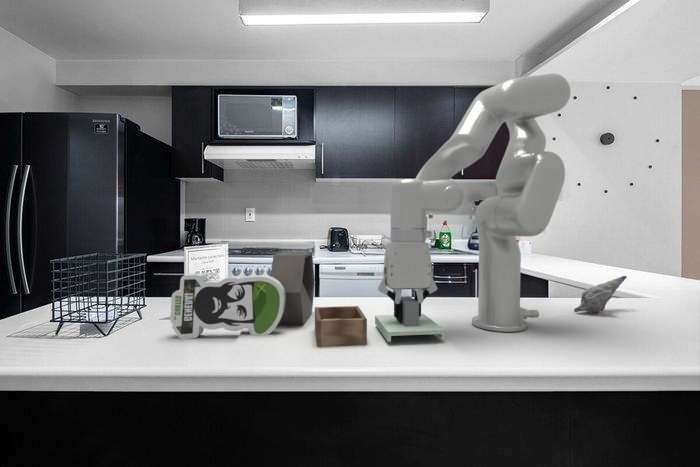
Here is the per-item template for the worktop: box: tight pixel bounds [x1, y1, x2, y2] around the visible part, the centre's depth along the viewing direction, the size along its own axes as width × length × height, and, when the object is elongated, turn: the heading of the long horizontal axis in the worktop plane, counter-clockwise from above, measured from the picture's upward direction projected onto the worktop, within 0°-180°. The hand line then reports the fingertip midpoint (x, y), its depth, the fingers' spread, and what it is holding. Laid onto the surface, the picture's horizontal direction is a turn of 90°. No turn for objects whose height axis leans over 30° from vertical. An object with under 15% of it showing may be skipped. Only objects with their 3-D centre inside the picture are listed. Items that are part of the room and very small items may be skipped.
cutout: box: [169, 272, 286, 340], centre depth 86 cm, size 15×3×25 cm
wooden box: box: [314, 305, 368, 348], centre depth 83 cm, size 10×12×6 cm
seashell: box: [573, 275, 627, 314], centre depth 107 cm, size 10×17×10 cm, turn 90°
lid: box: [374, 295, 446, 343], centre depth 85 cm, size 12×14×7 cm
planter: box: [269, 251, 316, 326], centre depth 99 cm, size 17×8×21 cm
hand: (407, 319), depth 85 cm, fingers closed on lid, 3 cm apart
